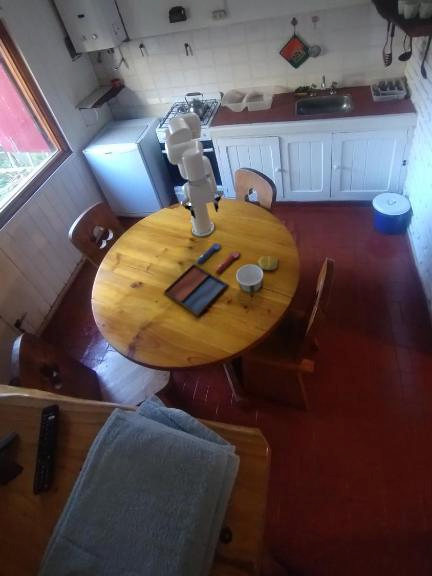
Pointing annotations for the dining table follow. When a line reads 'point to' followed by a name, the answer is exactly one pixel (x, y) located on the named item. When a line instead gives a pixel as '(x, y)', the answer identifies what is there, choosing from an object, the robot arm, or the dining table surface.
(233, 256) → the red spoon
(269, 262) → the bread roll
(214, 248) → the blue spoon
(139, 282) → the dining table surface
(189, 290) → the sorting tray
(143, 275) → the dining table surface
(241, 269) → the food container
